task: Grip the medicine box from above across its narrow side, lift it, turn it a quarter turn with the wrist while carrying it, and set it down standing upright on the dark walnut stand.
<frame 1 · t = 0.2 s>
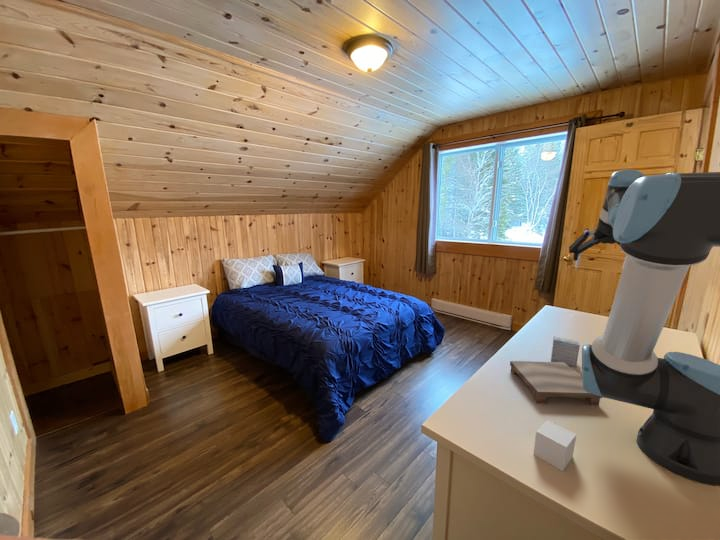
hand: (599, 267, 110), 35 cm above the dresser, tool tilted 35°, fingers open, 13 cm apart
medicine box: (563, 362, 113), on the dresser
white cube: (552, 456, 70), on the dresser
walnut stand: (550, 387, 97), on the dresser
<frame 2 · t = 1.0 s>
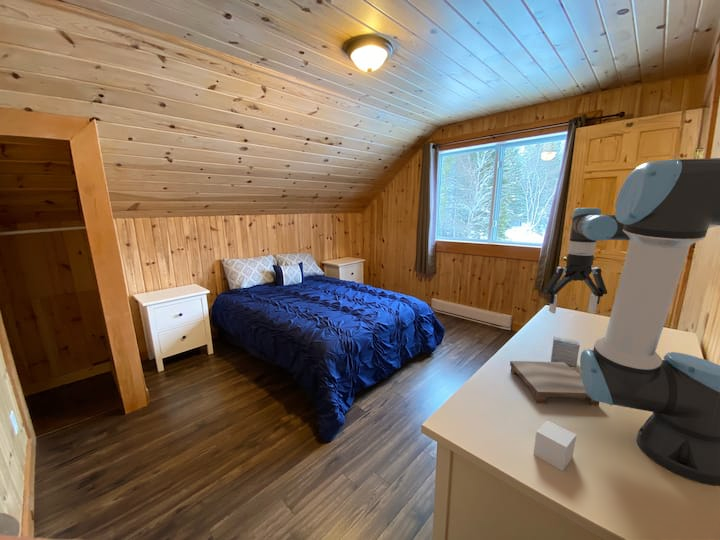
hand: (571, 312, 109), 19 cm above the dresser, tool pointing down, fingers open, 13 cm apart
nothing on the dresser moved.
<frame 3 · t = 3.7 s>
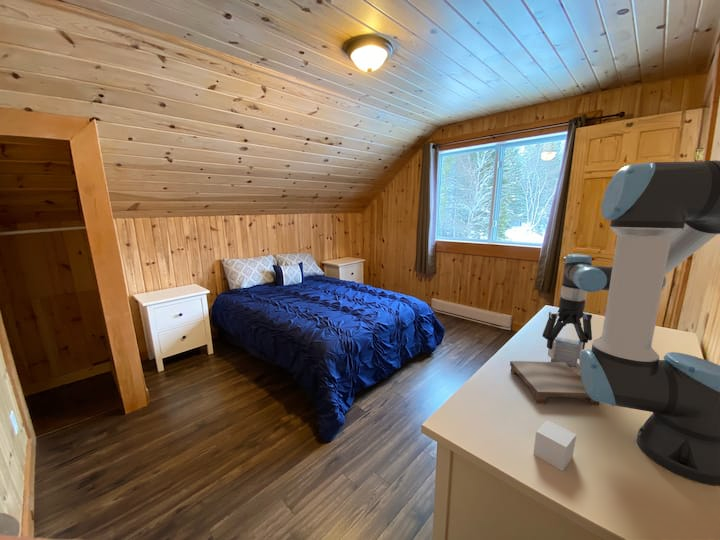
hand: (563, 357, 112), 2 cm above the dresser, tool pointing down, fingers closed on medicine box, 9 cm apart
medicine box: (563, 362, 113), on the dresser, touching gripper
everything else where it was.
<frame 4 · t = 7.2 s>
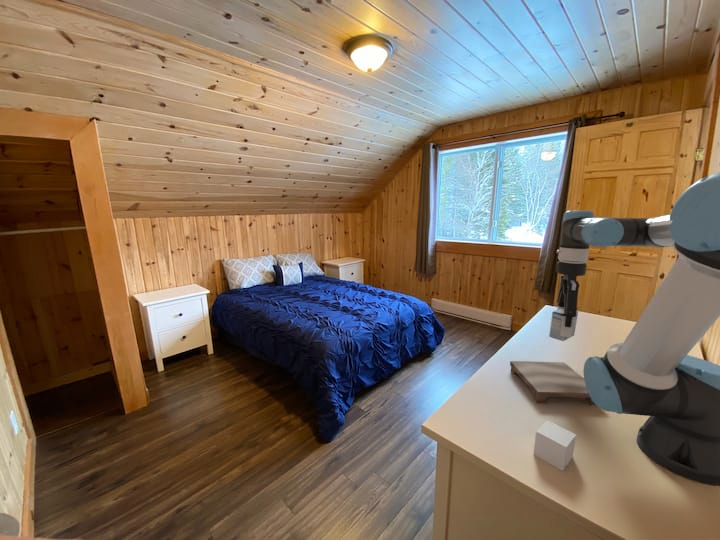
hand: (562, 330, 98), 17 cm above the dresser, tool pointing down, fingers closed on medicine box, 9 cm apart
medicine box: (561, 337, 98), point 15 cm above the dresser, touching gripper
everything else where it was.
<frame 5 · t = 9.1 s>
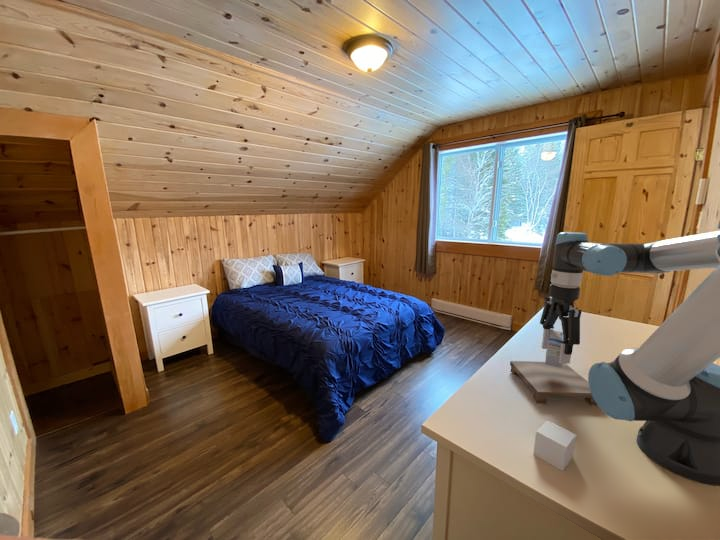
hand: (554, 355, 95), 11 cm above the dresser, tool pointing down, fingers closed on medicine box, 9 cm apart
medicine box: (553, 361, 95), point 9 cm above the dresser, touching gripper
everything else where it was.
when the fingers open (7 cm above the dresser, at t = 10.7 s): medicine box stays where it is, resting on walnut stand.
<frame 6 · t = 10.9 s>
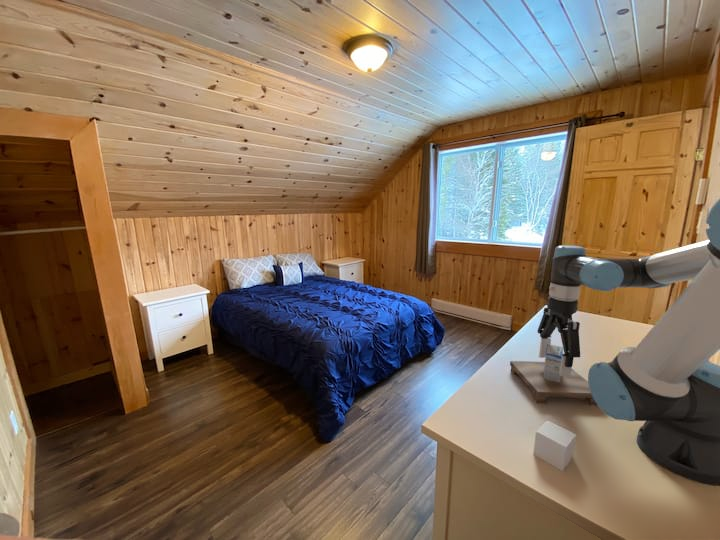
hand: (553, 365, 95), 7 cm above the dresser, tool pointing down, fingers open, 11 cm apart
medicine box: (551, 375, 96), point 4 cm above the dresser, touching walnut stand
everything else where it was.
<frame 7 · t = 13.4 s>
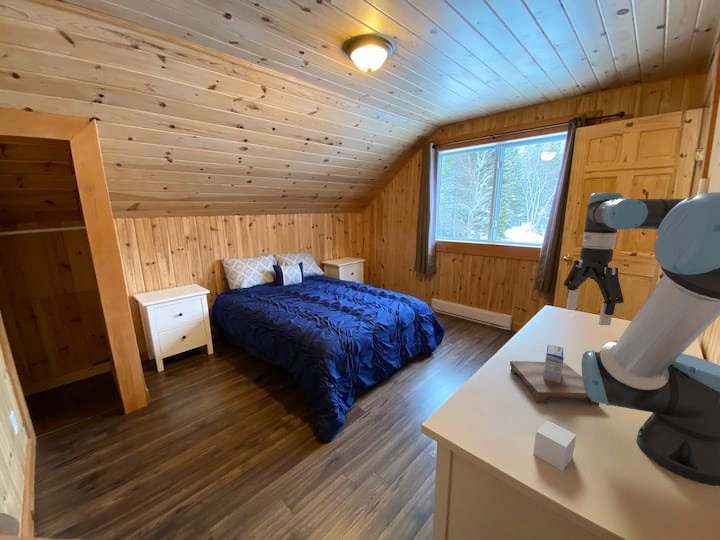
hand: (586, 316, 93), 23 cm above the dresser, tool pointing down, fingers open, 13 cm apart
nothing on the dresser moved.
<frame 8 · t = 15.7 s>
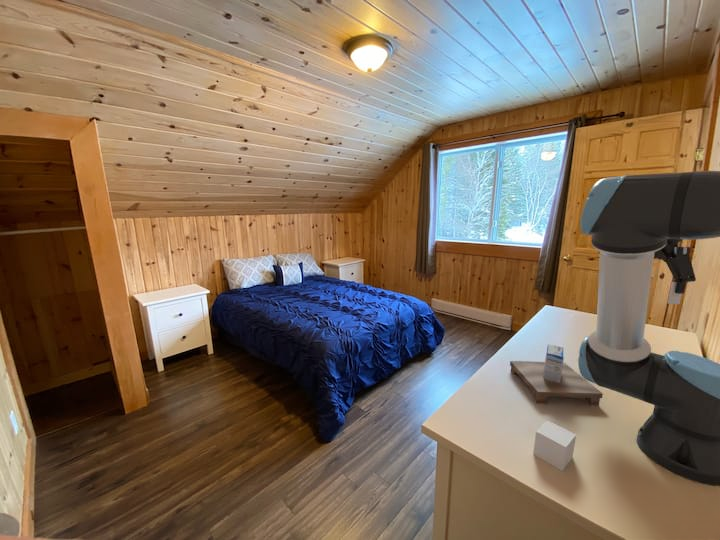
hand: (652, 297, 95), 29 cm above the dresser, tool pointing down, fingers open, 13 cm apart
nothing on the dresser moved.
at the end: medicine box inside the target area on the walnut stand (0.1 cm from its centre), point 3.8 cm above the walnut stand's base; medicine box tilted 0°; the gripper is holding nothing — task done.
